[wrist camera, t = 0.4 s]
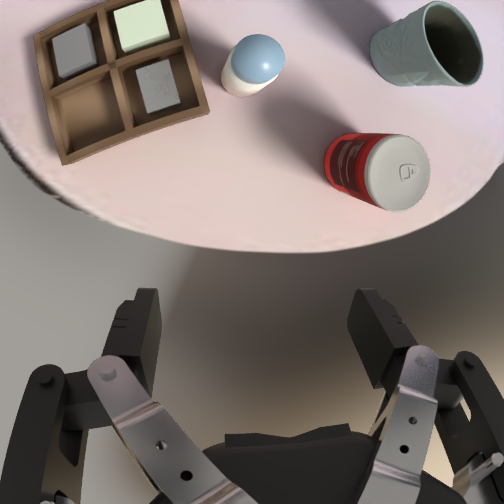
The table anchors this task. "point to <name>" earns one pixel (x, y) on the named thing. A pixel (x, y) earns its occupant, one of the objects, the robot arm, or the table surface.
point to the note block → (141, 26)
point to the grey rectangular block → (158, 87)
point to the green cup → (429, 49)
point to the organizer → (114, 84)
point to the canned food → (379, 169)
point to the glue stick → (252, 65)
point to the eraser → (75, 52)
